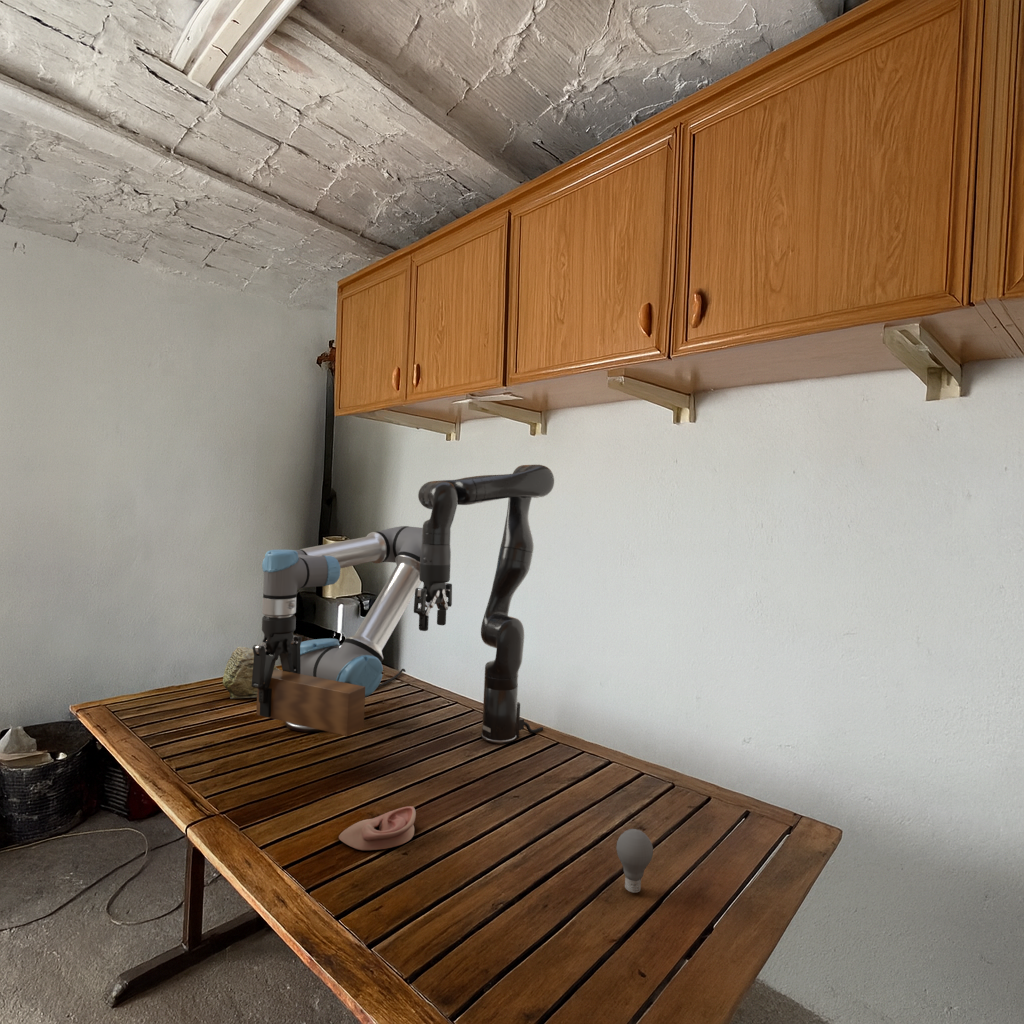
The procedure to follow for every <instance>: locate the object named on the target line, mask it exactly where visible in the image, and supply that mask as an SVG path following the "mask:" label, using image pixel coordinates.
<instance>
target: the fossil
mask: <svg viewBox="0 0 1024 1024" xmlns="http://www.w3.org/2000/svg"><path fill="white" fill-rule="evenodd" d="M253 662H254V653H253V648H251V647H247V646H246V647H245V646H238V647H237V648H236V649H235V650H233V651H232V653H231V656H230V657H229V659H228V660H227V663H226V666H225V668H224V671H223V675H222V676H223V677H222V685H223V687H224V688H225V690H226V691H228V693H229V698H230V699H250V698H257V688H254V687H252V674H253ZM276 669H277V670H280V669H279V668H278V667H277V665H276V664H275V666H274V670H276Z"/></svg>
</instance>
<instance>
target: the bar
mask: <svg viewBox="0 0 1024 1024" xmlns="http://www.w3.org/2000/svg"><path fill="white" fill-rule="evenodd" d="M264 684H265V683H264ZM269 688H271V689H272V697H271V717H267V718H268V719H272V720H277V721H281V722H284V723H286V722H289V723H294V724H298V725H302V726H306V727H311V728H315V729H319V730H323V731H322V732H328V733H333V734H337V735H341V736H346V737H348V736H350V735H353V734H354V733H356V732H358V731H361V730H362V729H364V728H365V710H366V709H365V708H366V707H365V703H366V697H365V686H360V685H354V684H349V683H344V682H339V681H334V680H328V679H323V678H318V677H313V676H308V675H303V674H297V673H292V672H287V671H283V670H281V669H279V670H277V669H276V670H273V674H272V678H271V682H270V686H269ZM256 716H260V717H262V716H261V715H260V703H259V689H258V688H257V697H256ZM264 717H265V716H263V718H264ZM265 718H266V717H265Z"/></svg>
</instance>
